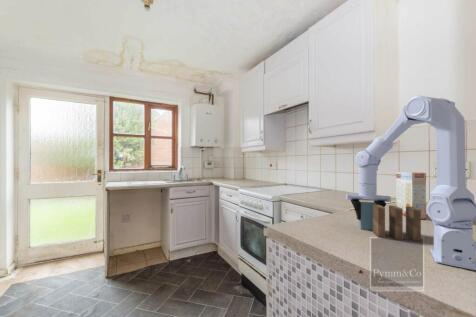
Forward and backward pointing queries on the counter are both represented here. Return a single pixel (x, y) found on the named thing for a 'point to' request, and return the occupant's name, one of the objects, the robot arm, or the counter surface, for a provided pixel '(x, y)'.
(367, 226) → the domino
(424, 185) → the cracker box
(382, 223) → the domino
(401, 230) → the domino
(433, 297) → the counter surface
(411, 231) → the domino
